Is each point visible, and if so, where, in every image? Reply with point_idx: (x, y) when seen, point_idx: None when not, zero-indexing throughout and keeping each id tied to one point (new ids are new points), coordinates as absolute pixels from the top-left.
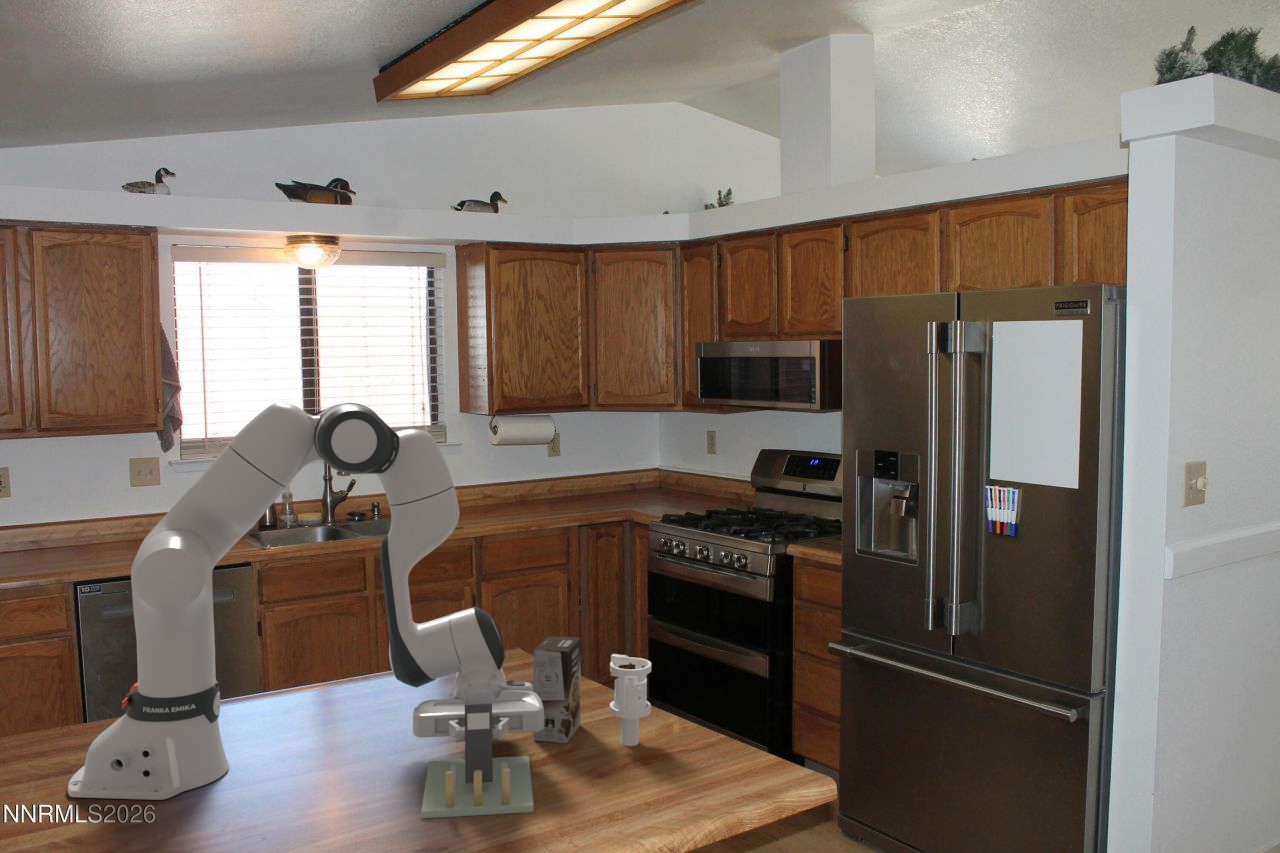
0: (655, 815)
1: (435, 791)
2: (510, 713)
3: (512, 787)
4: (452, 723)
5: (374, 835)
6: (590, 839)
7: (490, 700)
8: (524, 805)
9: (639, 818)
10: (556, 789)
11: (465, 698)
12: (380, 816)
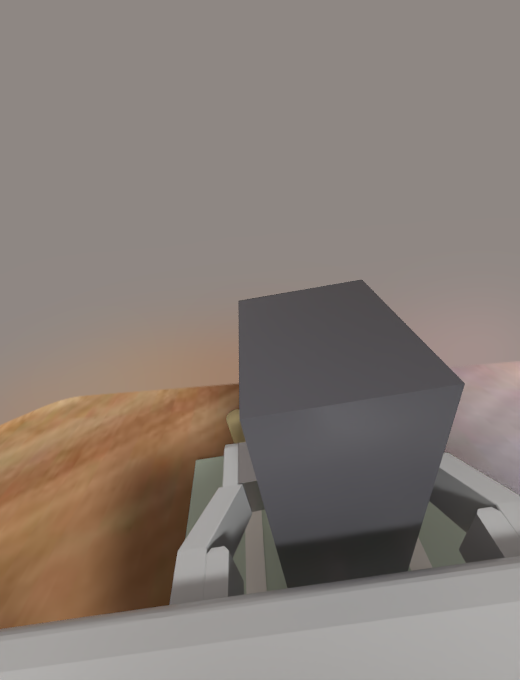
0: (4, 465)
1: (451, 528)
2: (147, 609)
3: (234, 558)
4: (489, 483)
5: (463, 381)
6: (138, 397)
7: (246, 321)
8: (213, 458)
9: (35, 454)
10: (115, 602)
11: (400, 322)
12: (515, 438)
